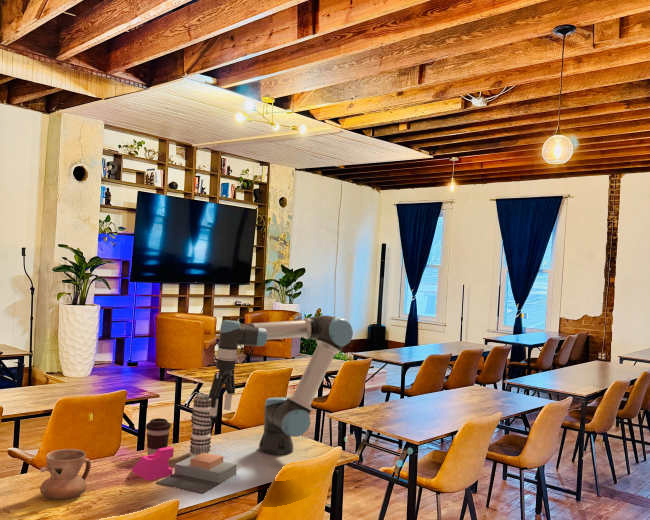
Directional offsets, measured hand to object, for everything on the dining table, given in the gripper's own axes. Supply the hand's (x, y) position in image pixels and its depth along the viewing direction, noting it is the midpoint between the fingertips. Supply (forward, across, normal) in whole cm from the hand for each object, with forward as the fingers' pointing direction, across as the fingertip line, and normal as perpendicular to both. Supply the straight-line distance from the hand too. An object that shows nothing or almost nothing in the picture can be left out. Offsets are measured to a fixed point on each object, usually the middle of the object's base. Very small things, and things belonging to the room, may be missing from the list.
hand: (220, 412), depth 241 cm
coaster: (+18, +7, 0) cm, 20 cm away
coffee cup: (+23, -4, -27) cm, 36 cm away
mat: (+23, +17, -1) cm, 28 cm away
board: (+22, +8, 0) cm, 24 cm away
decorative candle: (+22, -14, -13) cm, 29 cm away
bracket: (+24, +14, -19) cm, 34 cm away
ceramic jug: (+26, +44, -34) cm, 62 cm away
